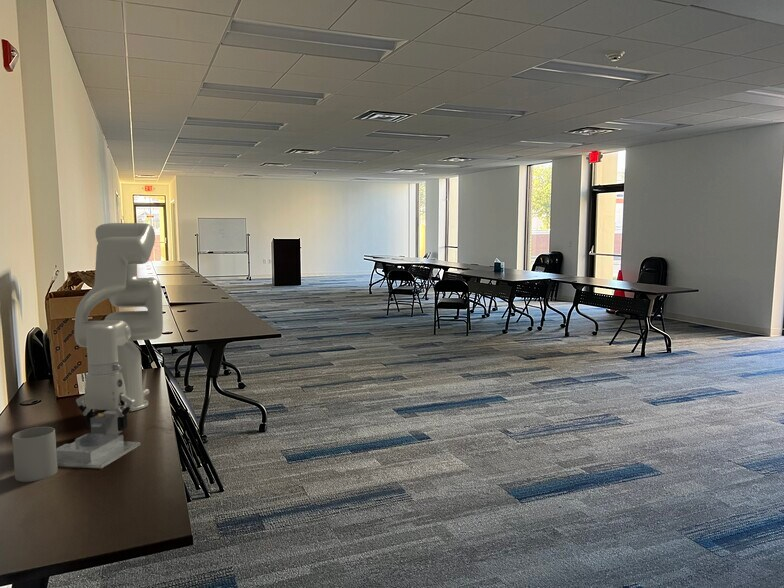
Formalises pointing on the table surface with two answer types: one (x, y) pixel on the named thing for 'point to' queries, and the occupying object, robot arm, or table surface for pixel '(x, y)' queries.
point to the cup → (34, 454)
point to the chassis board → (94, 450)
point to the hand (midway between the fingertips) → (106, 428)
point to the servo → (105, 423)
